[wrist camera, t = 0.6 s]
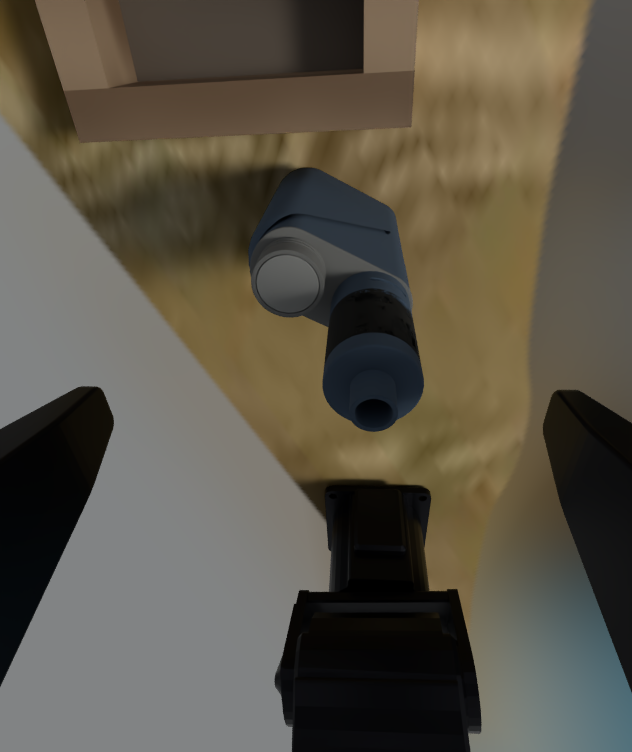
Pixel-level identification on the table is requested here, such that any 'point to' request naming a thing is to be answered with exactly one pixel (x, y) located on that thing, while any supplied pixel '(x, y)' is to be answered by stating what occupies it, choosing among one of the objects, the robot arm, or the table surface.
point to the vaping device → (342, 291)
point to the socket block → (232, 65)
